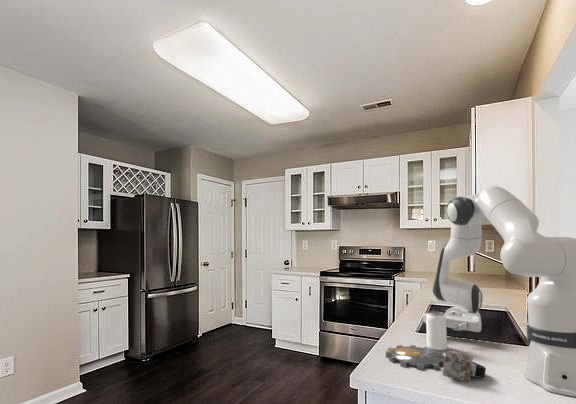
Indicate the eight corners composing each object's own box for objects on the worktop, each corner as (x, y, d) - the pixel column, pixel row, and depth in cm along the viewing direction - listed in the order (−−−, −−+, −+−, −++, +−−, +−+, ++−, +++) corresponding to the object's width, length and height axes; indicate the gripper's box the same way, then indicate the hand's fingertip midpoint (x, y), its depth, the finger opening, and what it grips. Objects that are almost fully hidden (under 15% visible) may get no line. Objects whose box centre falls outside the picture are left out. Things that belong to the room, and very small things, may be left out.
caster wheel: (479, 380, 101) (488, 390, 91) (438, 368, 104) (442, 375, 95) (482, 357, 102) (492, 363, 92) (441, 345, 105) (446, 350, 96)
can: (437, 344, 126) (435, 310, 127) (451, 349, 120) (449, 314, 121) (423, 346, 123) (421, 311, 125) (436, 352, 117) (435, 315, 119)
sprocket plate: (457, 357, 112) (457, 353, 112) (435, 375, 98) (435, 370, 98) (401, 345, 125) (401, 340, 125) (375, 358, 111) (374, 354, 111)
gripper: (430, 306, 145) (416, 312, 135) (484, 314, 131) (473, 320, 121) (431, 322, 144) (417, 328, 134) (485, 331, 130) (474, 339, 120)
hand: (444, 325), depth 128 cm, fingers open, 8 cm apart
